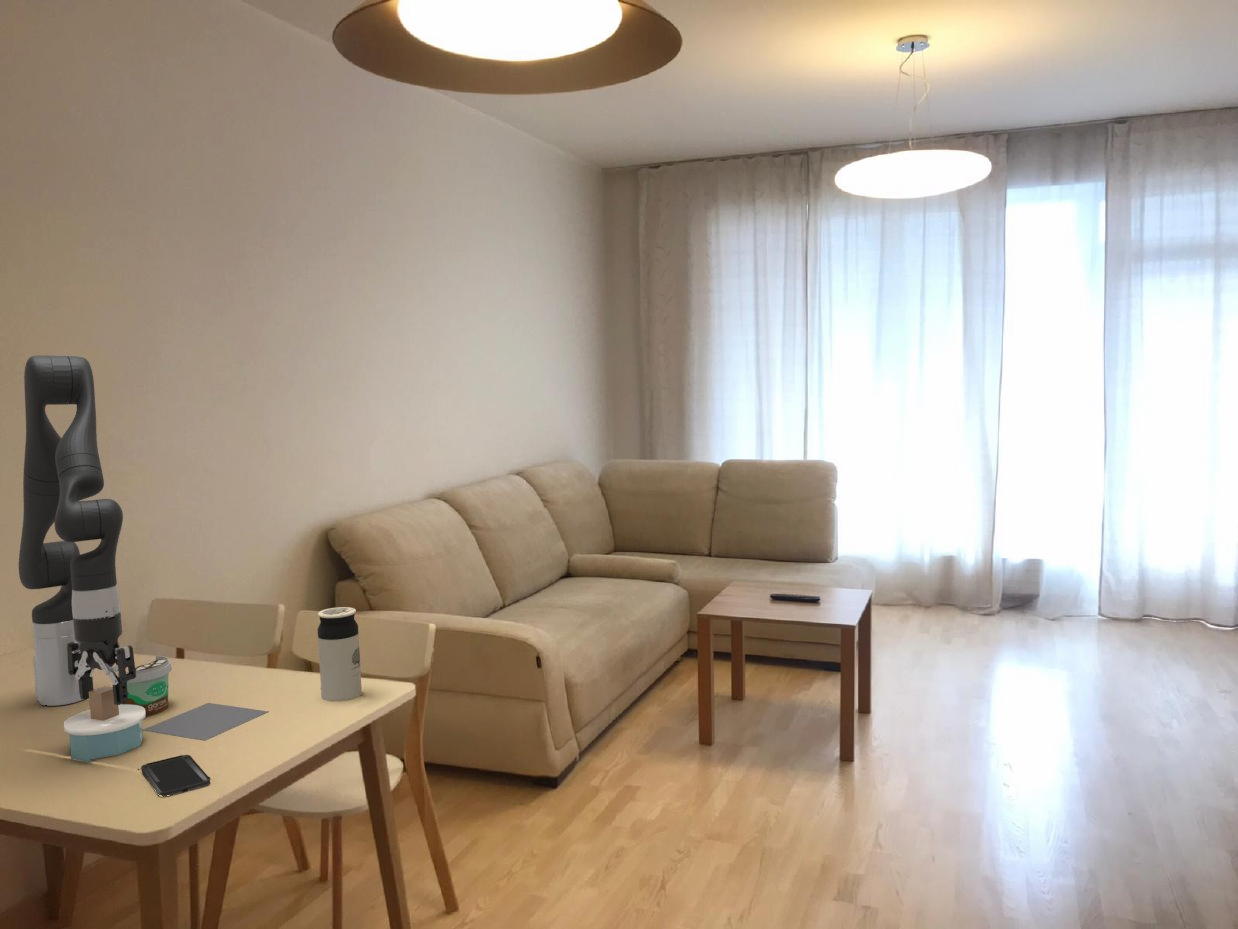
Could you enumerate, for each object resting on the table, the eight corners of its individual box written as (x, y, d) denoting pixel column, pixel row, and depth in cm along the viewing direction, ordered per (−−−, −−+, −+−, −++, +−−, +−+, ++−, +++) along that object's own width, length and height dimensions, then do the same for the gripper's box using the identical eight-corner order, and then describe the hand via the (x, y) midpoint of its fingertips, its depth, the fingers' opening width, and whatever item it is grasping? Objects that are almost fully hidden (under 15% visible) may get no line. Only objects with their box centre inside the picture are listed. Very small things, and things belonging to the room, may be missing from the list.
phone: (188, 753, 171) (211, 780, 159) (188, 759, 171) (212, 787, 159) (139, 765, 166) (159, 794, 154) (139, 772, 166) (159, 801, 154)
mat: (141, 733, 183) (141, 730, 183) (208, 705, 198) (208, 702, 198) (205, 743, 177) (205, 740, 177) (269, 714, 192) (269, 711, 191)
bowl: (58, 756, 173) (56, 729, 172) (113, 734, 183) (111, 708, 182) (102, 765, 168) (100, 736, 168) (155, 742, 179) (153, 715, 178)
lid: (47, 730, 172) (44, 697, 172) (112, 706, 184) (109, 675, 183) (98, 739, 167) (95, 705, 166) (161, 714, 179) (159, 682, 178)
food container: (147, 725, 188) (143, 674, 187) (119, 723, 189) (115, 673, 188) (188, 703, 200) (184, 655, 199) (161, 702, 201) (157, 654, 200)
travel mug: (313, 702, 198) (308, 614, 197) (337, 689, 206) (333, 605, 204) (346, 705, 195) (341, 617, 194) (369, 693, 203) (365, 607, 201)
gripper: (49, 614, 173) (57, 703, 174) (106, 620, 167) (113, 712, 169) (87, 604, 180) (94, 690, 181) (143, 610, 174) (150, 698, 175)
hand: (104, 701), depth 175 cm, fingers open, 8 cm apart
